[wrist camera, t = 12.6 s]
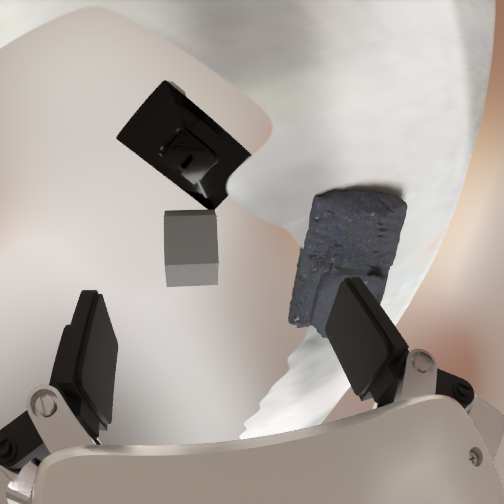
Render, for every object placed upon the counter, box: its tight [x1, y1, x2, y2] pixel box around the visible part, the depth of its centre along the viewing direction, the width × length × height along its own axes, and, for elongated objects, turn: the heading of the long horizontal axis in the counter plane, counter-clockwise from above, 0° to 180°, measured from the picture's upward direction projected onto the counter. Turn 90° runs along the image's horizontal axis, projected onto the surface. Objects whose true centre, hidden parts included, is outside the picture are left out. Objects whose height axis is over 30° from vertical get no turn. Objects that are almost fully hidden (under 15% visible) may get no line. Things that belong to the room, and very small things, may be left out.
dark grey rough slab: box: [288, 191, 407, 338], centre depth 36 cm, size 15×22×5 cm
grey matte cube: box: [164, 210, 219, 287], centre depth 28 cm, size 5×6×5 cm
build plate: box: [116, 80, 252, 210], centre depth 24 cm, size 12×7×5 cm, turn 44°
